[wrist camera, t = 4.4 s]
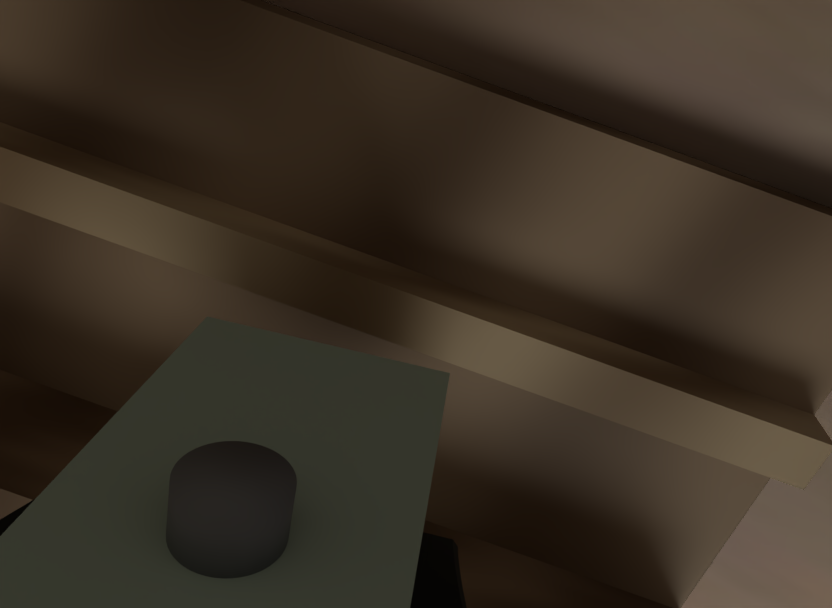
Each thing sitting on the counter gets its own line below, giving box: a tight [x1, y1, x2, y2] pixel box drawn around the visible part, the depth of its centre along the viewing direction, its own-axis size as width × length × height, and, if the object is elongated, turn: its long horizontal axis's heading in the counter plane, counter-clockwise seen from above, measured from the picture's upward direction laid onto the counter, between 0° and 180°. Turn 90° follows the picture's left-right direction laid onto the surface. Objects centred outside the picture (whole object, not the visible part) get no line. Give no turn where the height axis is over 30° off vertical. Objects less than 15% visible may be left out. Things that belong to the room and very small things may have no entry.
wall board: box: [0, 0, 832, 608], centre depth 16 cm, size 20×12×4 cm, turn 72°
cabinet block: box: [0, 317, 450, 608], centre depth 11 cm, size 4×5×7 cm
